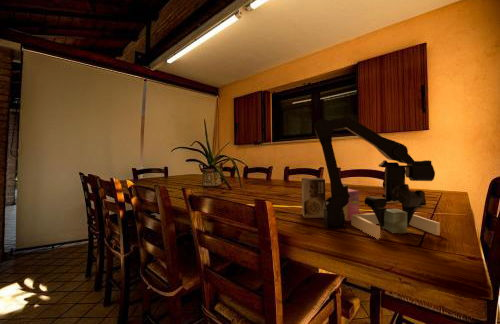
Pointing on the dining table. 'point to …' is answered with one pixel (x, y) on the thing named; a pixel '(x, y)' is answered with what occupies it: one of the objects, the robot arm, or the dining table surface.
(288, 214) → the dining table surface
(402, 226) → the block
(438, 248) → the dining table surface
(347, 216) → the box
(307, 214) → the coffee box
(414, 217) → the wooden frame
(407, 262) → the dining table surface
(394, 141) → the robot arm
